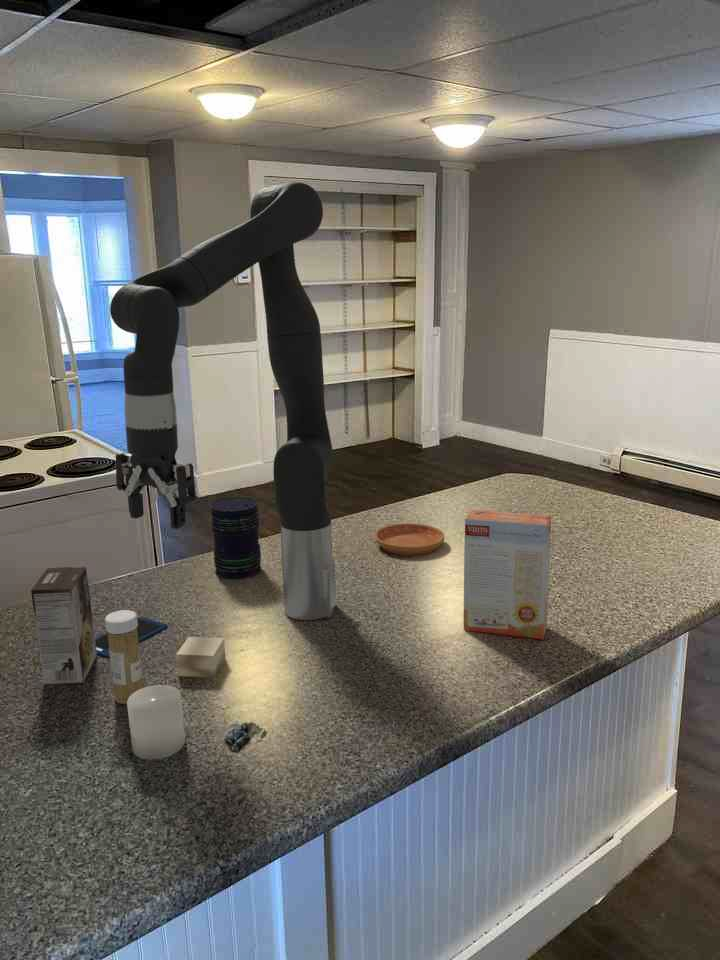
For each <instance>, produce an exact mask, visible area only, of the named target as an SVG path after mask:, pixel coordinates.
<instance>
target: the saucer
mask: <svg viewBox="0 0 720 960" xmlns="http://www.w3.org/2000/svg"><path fill="white" fill-rule="evenodd" d="M374 541H375V542H376V543H377V544H378V546H379V547H381V548H382V549H383V550H385V551H386V552H388V553H391V554H395V555H400V556H418V555H419V556H420V555H424V554H428V553H431V552H434V551H436V550H437V549H438V548H439V547H440V546H441V545H442V544H444V541H445V533H444V532H443V531H442V530H441V529H438V528H436V527H434V526H431V525H426V524H420V523H397V524H391V525H386V526H384V527H380V528H379V529H377V530H376V531H375V533H374Z"/></svg>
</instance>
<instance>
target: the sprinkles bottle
mask: <svg viewBox="0 0 720 960" xmlns="http://www.w3.org/2000/svg"><path fill="white" fill-rule="evenodd" d="M137 618H138V614H137V613H136V612H135V611H133V610H129V609H122V610H117V611H113V612H110V613H109V614H107V615H106V616H105V618H104V626H105V627H104V628H105V631H106V633H107V634H108V642H109V655H110V658H109V661H110V662H109V663H110V670H111V679H112V683H113V690H114V695H113V697H114V698H113V699H114V701H115V702H117V703H118V704H122V705H127V700H128V698H129V697H130V696H131V695H132V694H133V693H134V692H136V691H138V690H140V689H142V688H144V680H143V679H144V678H143V667H142V660H141V651H140V645H139V644H140V643H138V634H137V626H138V620H137Z"/></svg>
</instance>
